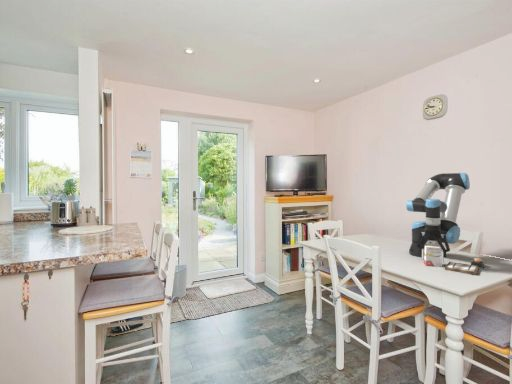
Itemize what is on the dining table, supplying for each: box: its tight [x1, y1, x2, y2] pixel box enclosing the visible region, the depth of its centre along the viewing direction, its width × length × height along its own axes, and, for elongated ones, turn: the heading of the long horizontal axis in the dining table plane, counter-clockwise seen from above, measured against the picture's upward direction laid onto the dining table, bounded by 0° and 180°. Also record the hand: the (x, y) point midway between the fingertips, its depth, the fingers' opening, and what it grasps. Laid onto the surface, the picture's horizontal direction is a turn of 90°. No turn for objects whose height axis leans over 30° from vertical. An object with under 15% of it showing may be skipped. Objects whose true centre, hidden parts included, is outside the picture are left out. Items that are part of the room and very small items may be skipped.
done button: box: [473, 257, 483, 263], centre depth 160 cm, size 4×4×2 cm
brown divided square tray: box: [444, 261, 480, 276], centre depth 154 cm, size 14×14×2 cm
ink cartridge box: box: [423, 240, 443, 267], centre depth 162 cm, size 9×5×15 cm, turn 71°
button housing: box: [470, 259, 486, 269], centre depth 160 cm, size 6×6×2 cm
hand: (432, 260), depth 163 cm, fingers closed on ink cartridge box, 10 cm apart
